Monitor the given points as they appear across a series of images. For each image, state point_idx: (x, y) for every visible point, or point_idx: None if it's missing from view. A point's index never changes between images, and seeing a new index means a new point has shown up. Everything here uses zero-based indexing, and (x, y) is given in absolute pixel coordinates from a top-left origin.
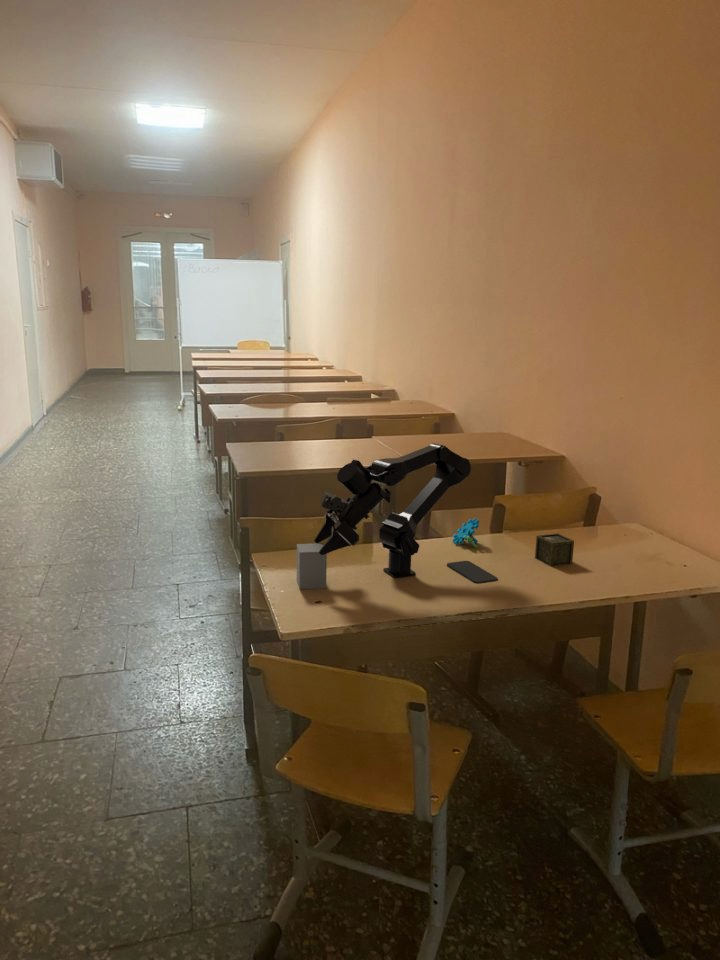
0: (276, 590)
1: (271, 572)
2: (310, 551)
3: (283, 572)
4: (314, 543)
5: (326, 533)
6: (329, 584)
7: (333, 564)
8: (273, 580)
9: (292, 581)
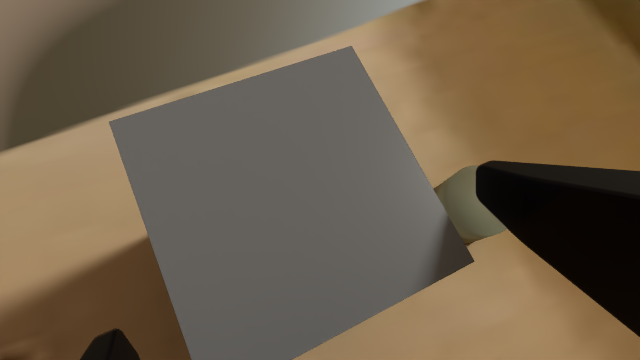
0: None
1: (365, 45)
2: (163, 215)
3: (383, 88)
4: (429, 184)
5: (621, 269)
6: None
7: None
8: None
9: None
